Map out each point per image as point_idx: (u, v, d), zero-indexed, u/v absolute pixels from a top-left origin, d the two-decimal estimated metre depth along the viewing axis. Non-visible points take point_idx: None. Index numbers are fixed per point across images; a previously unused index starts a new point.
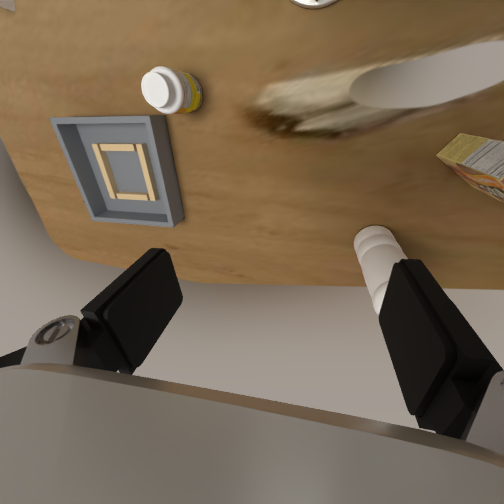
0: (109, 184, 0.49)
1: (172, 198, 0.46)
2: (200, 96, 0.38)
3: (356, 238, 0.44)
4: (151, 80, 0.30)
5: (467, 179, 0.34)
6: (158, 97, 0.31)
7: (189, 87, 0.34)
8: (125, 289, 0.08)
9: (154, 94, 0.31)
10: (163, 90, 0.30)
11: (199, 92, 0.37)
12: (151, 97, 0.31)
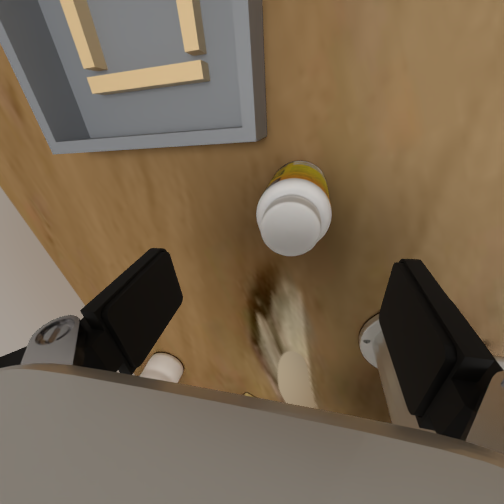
0: None
1: None
2: None
3: (164, 359, 0.43)
4: (306, 229, 0.15)
5: None
6: (277, 235, 0.15)
7: None
8: (125, 289, 0.08)
9: (282, 228, 0.15)
10: (288, 248, 0.16)
11: None
12: (277, 221, 0.15)
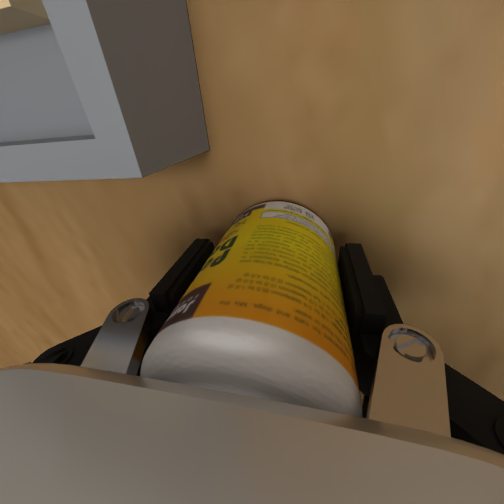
0: None
1: None
2: None
3: None
4: None
5: None
6: None
7: None
8: (184, 275, 0.08)
9: None
10: None
11: None
12: None
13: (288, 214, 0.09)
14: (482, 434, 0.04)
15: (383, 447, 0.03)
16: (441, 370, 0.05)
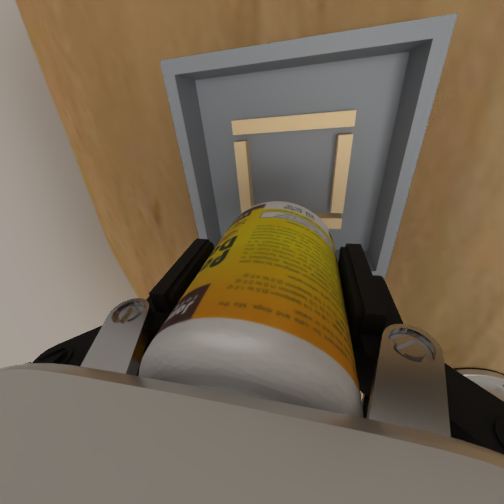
0: (264, 129, 0.21)
1: None
2: None
3: None
4: None
5: None
6: None
7: None
8: (184, 275, 0.08)
9: None
10: None
11: None
12: None
13: (288, 214, 0.09)
14: (482, 434, 0.04)
15: (383, 447, 0.03)
16: (441, 370, 0.05)
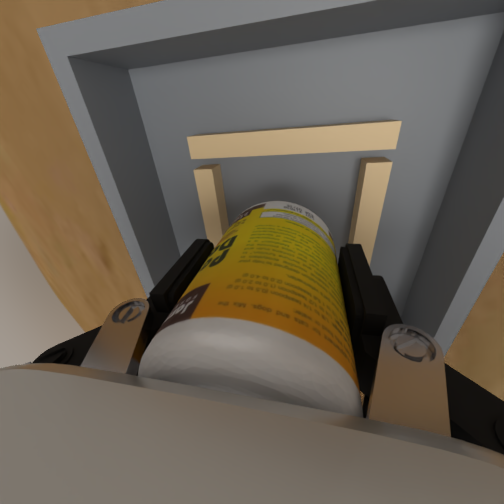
0: (240, 151, 0.13)
1: None
2: None
3: None
4: None
5: None
6: None
7: None
8: (184, 275, 0.08)
9: None
10: None
11: None
12: None
13: (288, 214, 0.09)
14: (482, 434, 0.04)
15: (383, 447, 0.03)
16: (441, 370, 0.05)
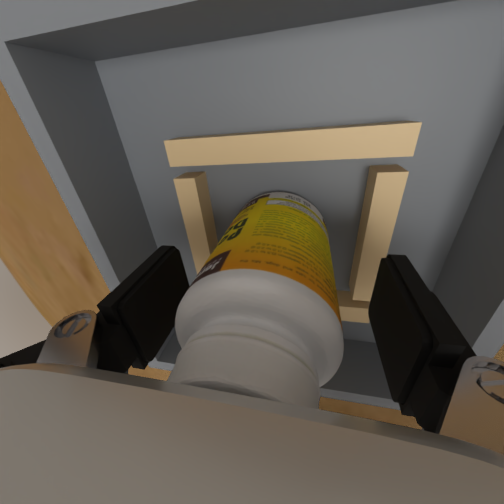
0: (227, 157, 0.11)
1: None
2: None
3: None
4: None
5: None
6: None
7: None
8: (139, 285, 0.08)
9: None
10: None
11: None
12: None
13: (289, 202, 0.11)
14: None
15: (383, 447, 0.03)
16: None
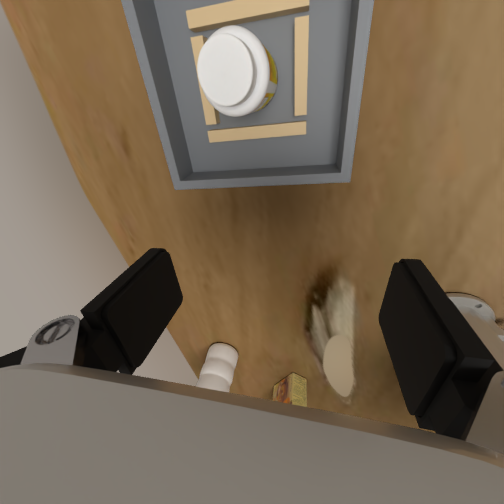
0: (219, 18, 0.21)
1: None
2: None
3: (223, 348, 0.51)
4: (239, 66, 0.15)
5: (280, 395, 0.53)
6: (213, 79, 0.16)
7: None
8: (125, 289, 0.08)
9: (217, 69, 0.16)
10: (225, 94, 0.16)
11: None
12: (211, 60, 0.15)
13: None
14: None
15: (383, 447, 0.03)
16: None
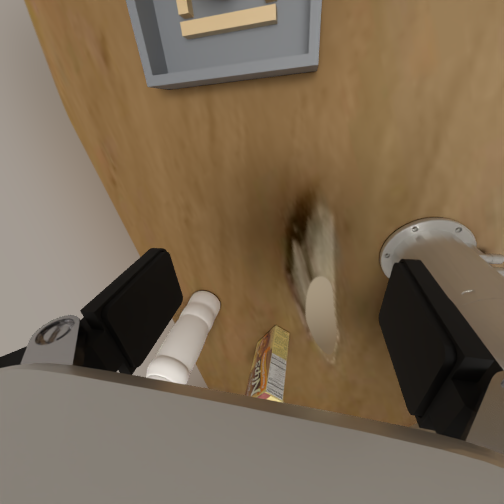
0: None
1: (196, 82, 0.28)
2: None
3: (205, 294, 0.50)
4: None
5: (262, 348, 0.52)
6: None
7: None
8: (125, 289, 0.08)
9: None
10: None
11: None
12: None
13: None
14: None
15: (383, 447, 0.03)
16: None
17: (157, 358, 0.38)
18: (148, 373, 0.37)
